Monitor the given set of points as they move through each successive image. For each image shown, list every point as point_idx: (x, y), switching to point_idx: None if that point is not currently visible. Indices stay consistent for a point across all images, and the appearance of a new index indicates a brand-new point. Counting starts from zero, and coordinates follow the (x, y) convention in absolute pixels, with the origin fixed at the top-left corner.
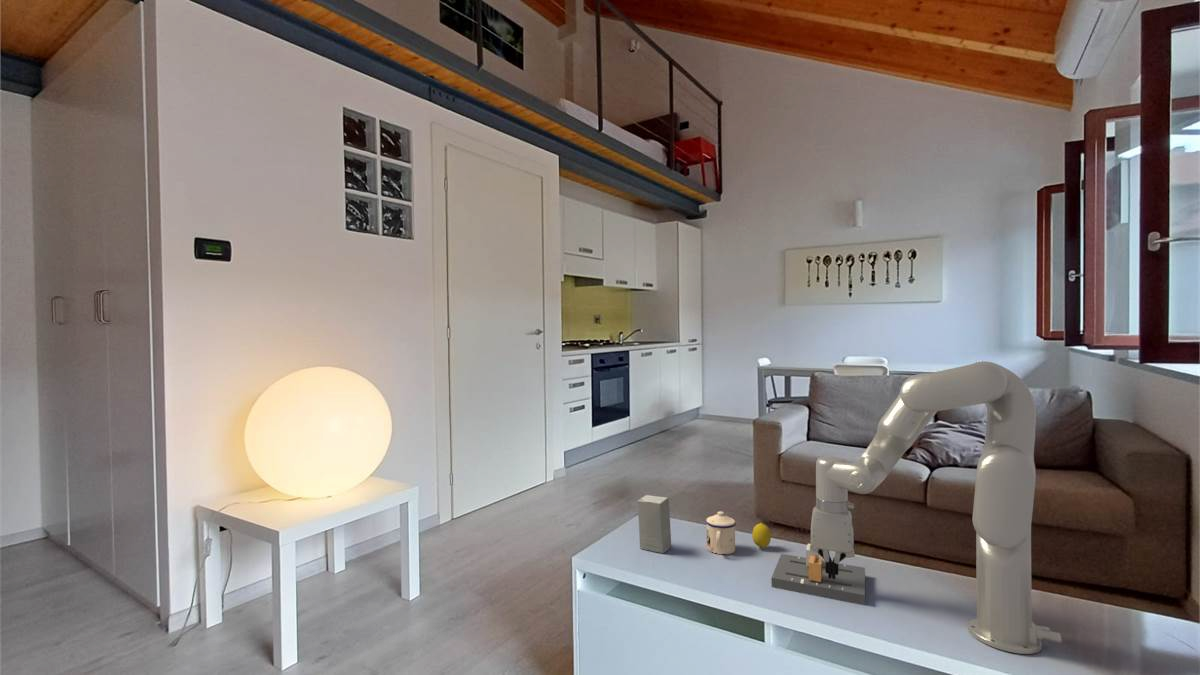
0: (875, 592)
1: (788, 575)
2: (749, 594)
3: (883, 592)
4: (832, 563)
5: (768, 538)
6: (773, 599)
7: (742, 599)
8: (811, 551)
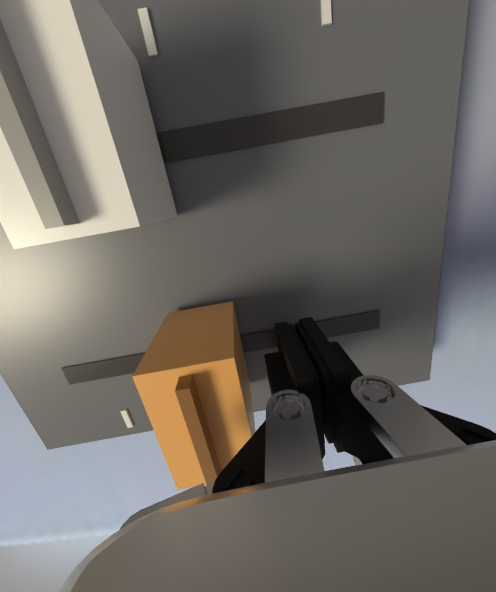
0: (454, 210)
1: (91, 390)
2: (52, 494)
3: (490, 186)
4: (332, 440)
5: None
6: (130, 481)
7: (59, 525)
8: (80, 236)
